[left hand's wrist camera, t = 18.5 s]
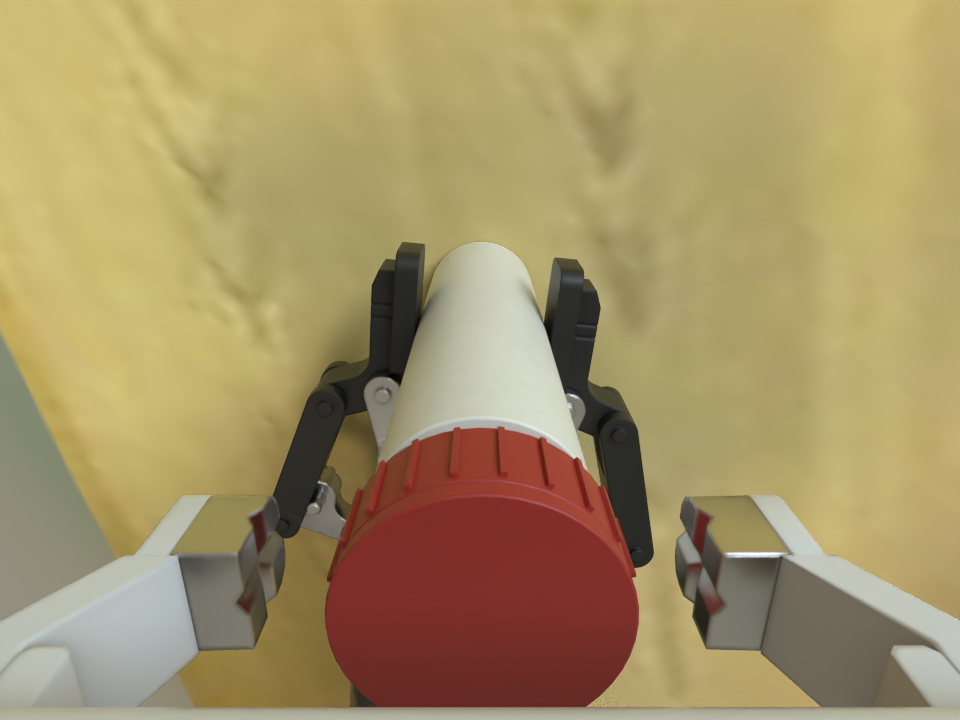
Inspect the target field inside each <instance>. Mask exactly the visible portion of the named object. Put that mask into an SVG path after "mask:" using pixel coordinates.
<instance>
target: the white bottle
mask: <svg viewBox="0 0 960 720" xmlns="http://www.w3.org/2000/svg"><path fill="white" fill-rule="evenodd" d="M498 426H500V427H505V430H511V431H516V432H520V433H523V434H527V435H530V436H534V437H536V438H538V439H539V438H540V437H544V438H546V439H547V442H548V443H550V444H552V445H554V446H555V447H557V448H559V449H560V450H562V451H564V452H566V453H567V454H568V455H569V456H571V457H572V458H573V459H575V458H576V457H578V458H579V459H580V460H581V461H582V464H583V467H584V469H585V470H586V471H587V472H588V470H587V467H586V464H585V460H584V457H583V454H582V450H581V447H580V444H579V440H578V437H577V434H576V430H575V427H574V423H573V420H572V417H571V413H570V410H569V407H568V403H567V400H566V397H565V393H564V390H563V387H562V383H561V380H560V377H559V373H558V370H557V367H556V363H555V360H554V357H553V353H552V350H551V347H550V343H549V340H548V336H547V333H546V330H545V326H544V323H543V320H542V316H541V313H540V310H539V306H538V303H537V300H536V296H535V293H534V290H533V286H532V283H531V280H530V276H529V274H528V271H527V269H526V267H525V266H524V264H523V263H522V261H521V260H520V259H519V258H518V257H517V256H516V255H515V254H514V253H513V252H511V251H510V250H508V249H507V248H505V247H503V246H500V245H498V244H494V243H490V242H473V243H468V244H465V245H462V246H460V247H457V248H456V249H454V250H452V251H451V252H450V253H448V254H447V255H446V256H445V257H444V258H443V259H442V260H441V262H440V263H439V264H438V266H437V268H436V270H435V272H434V274H433V277H432V281H431V284H430V287H429V291H428V294H427V298H426V301H425V304H424V308H423V311H422V315H421V318H420V321H419V325H418V328H417V332H416V335H415V338H414V342H413V345H412V349H411V352H410V355H409V359H408V362H407V366H406V369H405V372H404V376H403V379H402V383H401V386H400V389H399V393H398V396H397V400H396V403H395V406H394V410H393V413H392V417H391V420H390V423H389V427H388V430H387V434H386V437H385V440H384V444H383V447H382V451H381V454H380V457H379V461H378V464H379V463H380V462H381V461H382V460H384V461H385V462H387V461H388V460H389V459H390V458H391V457H393V456H394V455H395V454H397V453H398V452H400V451H402V450H403V449H405V448H406V447H408V446H410V445H412V441H413V440H415V439H419V441H420V440H422V439H425V438H427V437H430V436H434V435H437V434H440V433H443V432H448V431H453V429H454V428H456V427H460V428H461V429H468V428H498ZM378 464H377V467H378ZM376 471H377V468H376ZM376 471H375V472H376Z"/></svg>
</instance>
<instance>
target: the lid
mask: <svg viewBox="0 0 960 720" xmlns="http://www.w3.org/2000/svg"><path fill="white" fill-rule="evenodd" d="M632 577H636V572H635V569H634V566H633V563H632V560H631V557H630V554H629V551H628V548H627V545H626V542H625V539H624V536H623V533H622V530H621V527H620V524H619V521H618V518H615V515H614V512H613V509H612V506H611V503H610V500H609V497H608V494H607V491H606V489H605V487H604V485H602V486H600V487H599V486H598V484H597V483H596V482H595V480H594V479H593V477H592V476H591V475H590V474H589V473H588V472H587V471H586V470H585V469H584V467H583V464H582V461H581V460H580V459H579V458H578V457H576V458H575V459H573V458H572V457H571V456H569V455H568V454H567V453H566V452H564V451H562V450H560V449H559V448H557V447H555V446H554V445H552V444H550V443H548V442H547V439H546V438H544V437H540V438H539V439H538V438H536V437H534V436H530V435H527V434H523V433H520V432H516V431H511V430H505V427H500V426H498V428H468V429H461V428H460V427H456V428H454V429H453V431H448V432H443V433H440V434H437V435H434V436H430V437H427V438H425V439H422V440H420V441H419V439H415V440H413V441H412V445H410V446H408V447H406V448H405V449H403V450H402V451H400V452H398V453H397V454H395V455H394V456H393V457H391V458H390V459H389V460H388V461H387V462H385V461H384V460H382V461H381V462H380V463H379V464H378V467H377V471H376V472H375V473H374V474H373V476H372V477H371V478H370V479H369V481H368V482H367V484H366V485H365V487H364V488H363V490H360V489H358V490H357V491H356V493H355V496H354V499H353V502H352V505H351V508H350V511H349V514H348V517H347V520H346V522H345V525H344V528H343V531H342V534H341V537H340V540H339V543H338V546H337V549H336V552H335V555H334V558H333V561H332V564H331V567H330V570H329V573H328V577H327V581H328V582H331V583H330V586H329V590H328V593H327V597H326V606H325V623H326V631H327V635H328V640H329V644H330V647H331V649H332V652H333V654H334V657H335V659H336V661H337V663H338V664H339V666H340V668H341V669H342V671H343V673H344V674H345V675H346V677H347V678H348V679H349V680H350V682H351V683H352V684H353V685H354V687H356V688H357V689H358V690H359V691H360V692H361V693H362V694H363V695H364V696H365V697H366V698H367V699H369V700H370V701H371V702H373V703H374V704H375V705H377V706H378V707H586V706H588V705H589V704H590V703H591V702H593V701H594V700H595V699H596V698H598V697H599V696H600V695H601V694H602V693H603V692H604V691H605V690H606V689H607V688H608V687H609V686H610V685H611V684H612V683H613V682H614V680H615V679H616V678H617V676H618V675H619V674H620V672H621V671H622V670H623V668H624V666H625V664H626V662H627V660H628V659H629V657H630V654H631V652H632V649H633V646H634V643H635V640H636V635H637V630H638V624H639V606H638V599H637V593H636V589H635V586H634V583H633V580H632Z"/></svg>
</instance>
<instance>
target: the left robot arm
mask: <svg viewBox="0 0 960 720" xmlns="http://www.w3.org/2000/svg"><path fill="white" fill-rule="evenodd" d="M279 519H280V514H279V508H278V503H277V500H276V499H275V498H274V497H273V496H254V495H212V494H211V495H184V496H181V497H179V498H178V500H177V501H176V502H175V503H174V505H173V506H172V507H171V508H170V510H169V511H168V512H167V513H166V515H165V516H164V517H163V518H162V520H161V521H160V522H159V524H158V525H157V526H156V527H155V529H154V530H153V531H152V532H151V534H150V535H149V536H148V537H147V539H146V540H145V541H144V542H143V544H142V545H141V546H140V548H139V549H138V550H137V551H136V553H135V554H134V555H124V556H122V557H120V558H118V559H116V560H114V561H112V562H110V563H108V564H106V565H105V566H103V567H101V568H99V569H97V570H95V571H93V572H91V573H89V574H87V575H86V576H84V577H82V578H80V579H78V580H76V581H74V582H72V583H70V584H68V585H67V586H65V587H63V588H61V589H59V590H57V591H55V592H53V593H51V594H49V595H47V596H45V597H44V598H42V599H40V600H38V601H36V602H34V603H32V604H30V605H28V606H26V607H24V608H23V609H21V610H19V611H17V612H15V613H13V614H11V615H9V616H7V617H5V618H4V619H2V620H0V720H960V620H958V619H956V618H954V617H952V616H950V615H949V614H947V613H945V612H943V611H941V610H939V609H937V608H935V607H933V606H931V605H930V604H928V603H926V602H924V601H922V600H920V599H918V598H916V597H914V596H912V595H911V594H909V593H907V592H905V591H903V590H901V589H899V588H897V587H895V586H893V585H892V584H890V583H888V582H886V581H884V580H882V579H880V578H878V577H876V576H874V575H872V574H871V573H869V572H867V571H865V570H863V569H861V568H859V567H857V566H855V565H853V564H852V563H850V562H848V561H846V560H844V559H842V558H840V557H838V556H836V555H826V554H825V553H824V551H823V550H822V549H821V548H820V546H819V545H818V544H817V543H816V541H815V540H814V539H813V538H812V536H811V535H810V534H809V532H808V531H807V530H806V529H805V527H804V526H803V525H802V524H801V522H800V521H799V520H798V519H797V517H796V516H795V515H794V514H793V512H792V511H791V510H790V509H789V507H788V506H787V505H786V504H785V502H784V501H783V500H782V498H781V497H779V496H777V495H775V494H764V495H744V496H698V497H685V498H684V501H683V503H682V507H681V513H680V519H681V521H682V523H683V525H684V527H685V529H686V530H685V531H684V532H683V533H682V534H681V535H680V536H679V537H678V538H677V541H676V550H675V565H676V574H677V578H678V582H679V586H680V588H681V591H682V593H683V596H684V597H686V598H687V599H688V600H690V601H691V602H692V603H694V608H693V615H692V617H693V619H694V622H695V624H696V626H697V629H698V631H699V633H700V636H701V638H702V640H703V643H704V645H705V647H706V649H720V650H756V651H761V654H762V655H763V656H765V657H766V658H767V659H768V660H769V661H770V662H771V663H772V664H774V665H775V666H776V667H777V668H778V669H779V670H780V671H782V672H783V673H784V674H785V675H786V676H787V677H788V678H789V679H791V680H792V681H793V682H794V683H795V684H796V685H797V686H798V687H800V688H801V689H802V690H803V691H804V692H805V693H806V694H807V695H809V696H810V697H811V698H812V699H813V700H814V701H815V702H817V703H818V704H819V705H820V706H821V707H139V706H140V705H141V704H142V703H144V702H145V701H146V700H147V699H148V698H149V697H150V696H152V695H153V694H154V693H155V692H156V691H157V690H158V689H160V688H161V687H162V686H163V685H164V684H165V683H166V682H167V681H169V680H170V679H171V678H172V677H173V676H174V675H175V674H177V673H178V672H179V671H180V670H181V669H182V668H183V667H184V666H186V665H187V664H188V663H189V662H190V661H191V660H192V659H194V658H195V657H196V656H197V655H198V654H199V651H204V650H238V649H254V647H255V645H256V643H257V640H258V638H259V636H260V633H261V631H262V629H263V626H264V624H265V622H266V619H267V617H268V615H267V608H266V603H268V602H269V601H270V600H272V599H273V598H274V597H276V596H277V593H278V591H279V588H280V586H281V583H282V578H283V573H284V567H285V548H284V541H283V538H282V537H281V536H280V535H279V534H278V533H277V532H276V531H275V530H274V529H275V527H276V525H277V523H278V521H279Z"/></svg>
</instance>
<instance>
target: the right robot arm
mask: <svg viewBox="0 0 960 720" xmlns="http://www.w3.org/2000/svg"><path fill="white" fill-rule="evenodd" d="M424 259H425V244H418V243H408V242H402V244H401V246H400V247H399V249H398V251H397V254H396V260H390V259H386V260H385V261H384V263H383V264H382V266H381V268H380V269H379V271H378V273H377V275H376V278H375V280H374V282H373V284H372V295H371V325H370V354H369V357H368V358H367V359H365V360H363V361H360V362H356V363H352V364H349V363H347V362H342V361H338V362H334V363H332V364H330V365H329V366H328V367H327V368H326V370H325V371H324V373H323V375H322V377H321V380H320V383H319V384H318V386H317V387H316V388H315V389H314V390H313V391H312V393H311V395H310V396H309V398H308V400H307V402H306V405H305V408H304V411H303V413H302V416H301V419H300V422H299V424H298V427H297V430H296V433H295V436H294V438H293V441H292V444H291V447H290V449H289V452H288V455H287V458H286V460H285V463H284V466H283V469H282V472H281V474H280V477H279V480H278V483H277V485H276V488H275V491H274V494H273V497H274V498H275V499H276V500H277V503H278V508H279V514H280V519H279V521H278V523H277V525H276V527H275V529H274V530H275V531H276V532H277V533H278V534H279V535H280V536H281V537H282V538H290V537H293V536H294V535H295V534H297V532H298V531H299V528H300V527H303V528H306V529H309V530H311V531H314V532H317V533H320V534H323V535H326V536H329V537H332V538H335V539H338V540H340V537H341V534H342V531H343V528H344V525H345V522H346V520H347V517H348V514H349V511H350V508H351V505H350V504H348V503H347V502H345V501H344V499H343V498H342V496H341V492H340V489H341V479H340V477H339V475H338V474H337V473H336V470H335V469H334V468H333V467H331V466H326V464H327V461H328V459H329V456H330V454H331V451H332V448H333V446H334V443H335V441H336V438H337V436H338V433H339V430H340V428H341V425H342V423H343V420H344V418H345V416H346V415H351V414H355V413H359V412H363V411H368V413H369V416H370V420H371V424H372V427H373V431H374V434H375V438H376V442H377V458H378V461H379V457H380V454H381V451H382V447H383V444H384V440H385V437H386V434H387V430H388V427H389V423H390V420H391V417H392V413H393V410H394V406H395V403H396V400H397V396H398V393H399V389H400V386H401V383H402V379H403V376H404V372H405V369H406V366H407V362H408V359H409V355H410V352H411V349H412V345H413V342H414V338H415V335H416V332H417V328H418V325H419V321H420V318H421V305H422V290H423V274H424ZM599 314H600V303H599V299H598V294H597V291H596V289H595V288H594V286H593V285H592V283H591V282H590V280H589V279H584V271H583V268H582V267H581V265H580V264H579V262H578V261H577V260H574V259H564V258H554V261H553V265H552V271H551V278H550V285H549V291H548V298H547V305H546V312H545V319H544V326H545V330H546V333H547V336H548V340H549V343H550V347H551V350H552V353H553V357H554V360H555V363H556V367H557V370H558V373H559V377H560V380H561V383H562V387H563V390H564V393H565V397H566V400H567V403H568V407H569V410H570V413H571V417H572V420H573V423H574V427H575V430H576V432H577V430H580V431H583V432H585V433H587V434H589V435H592V436H593V439H594V445H595V451H596V457H597V463H598V469H599V475H600V482H601V486H602V485H604V487H605V489H606V491H607V494H608V497H609V500H610V503H611V506H612V509H613V512H614V515H615V518H618V521H619V524H620V527H621V530H622V533H623V536H624V539H625V542H626V545H627V548H628V551H629V554H630V557H631V560H632V563H633V566H634V568H638V567H642V566H644V565H646V564H648V563H649V562H650V561H651V559H652V558H653V554H654V550H653V543H652V535H651V527H650V520H649V512H648V505H647V497H646V489H645V482H644V474H643V467H642V459H641V452H640V444H639V436H638V430H637V427H636V425H635V423H634V421H633V419H632V417H631V415H630V413H629V411H628V409H627V407H626V405H625V403H624V401H623V399H622V397H621V395H620V393H619V392H618V391H617V390H616V389H614V388H612V387H600V386H597V385H595V384H593V383H591V382H590V381H588V375H589V370H590V364H591V358H592V353H593V347H594V342H595V336H596V331H597V325H598V320H599ZM325 466H326V467H325ZM350 707H378V706H377V705H375V704H374V703H373V702H371V701H370V700H369V699H367V698H366V697H365V696H364V695H363V694H362V693H361V692H360V691H359V690H358V689H357V688H356V687H354V685H353V684H352V683H351V690H350Z"/></svg>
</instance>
